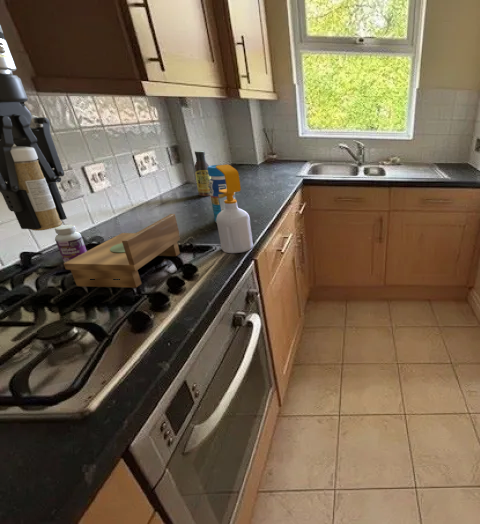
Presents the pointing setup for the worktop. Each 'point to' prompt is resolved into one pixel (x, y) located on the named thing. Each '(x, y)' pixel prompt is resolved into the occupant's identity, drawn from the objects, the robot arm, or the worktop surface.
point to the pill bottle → (69, 242)
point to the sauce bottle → (202, 174)
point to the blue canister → (217, 189)
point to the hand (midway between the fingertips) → (45, 223)
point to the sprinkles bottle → (35, 186)
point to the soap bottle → (233, 216)
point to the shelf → (125, 255)
